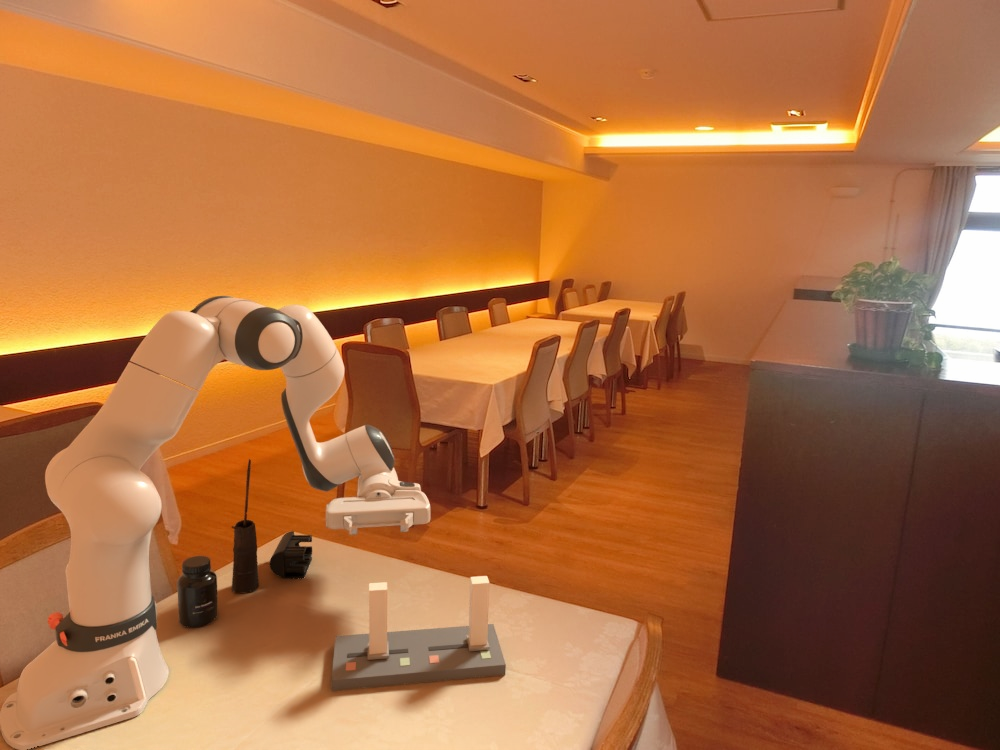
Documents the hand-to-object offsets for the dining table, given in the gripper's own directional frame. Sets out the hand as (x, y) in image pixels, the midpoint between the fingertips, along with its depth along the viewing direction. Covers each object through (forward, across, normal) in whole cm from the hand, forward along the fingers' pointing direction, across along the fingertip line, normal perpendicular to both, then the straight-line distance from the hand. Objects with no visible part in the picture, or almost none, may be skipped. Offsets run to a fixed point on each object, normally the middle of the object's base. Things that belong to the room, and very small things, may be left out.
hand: (379, 529), depth 120 cm
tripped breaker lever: (+12, 0, +17) cm, 21 cm away
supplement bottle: (-6, -34, +19) cm, 40 cm away
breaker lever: (+12, +17, +17) cm, 27 cm away
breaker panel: (+12, +6, +19) cm, 24 cm away
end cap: (-23, -19, +20) cm, 36 cm away
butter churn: (-15, -28, +19) cm, 37 cm away
